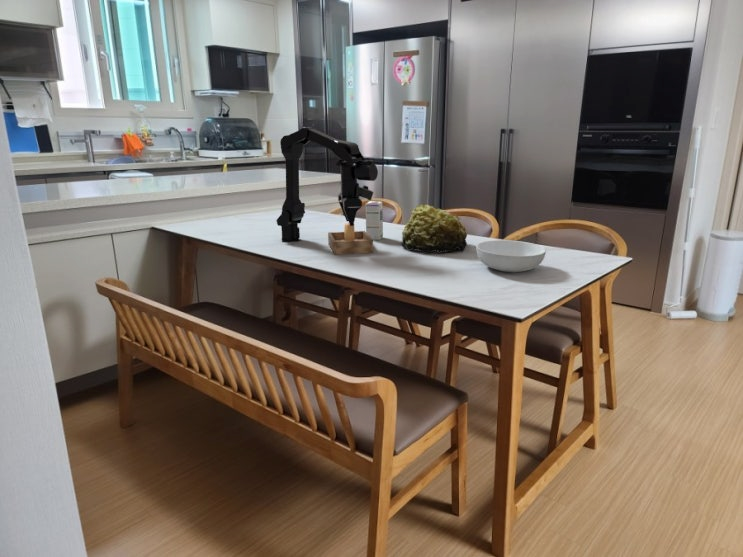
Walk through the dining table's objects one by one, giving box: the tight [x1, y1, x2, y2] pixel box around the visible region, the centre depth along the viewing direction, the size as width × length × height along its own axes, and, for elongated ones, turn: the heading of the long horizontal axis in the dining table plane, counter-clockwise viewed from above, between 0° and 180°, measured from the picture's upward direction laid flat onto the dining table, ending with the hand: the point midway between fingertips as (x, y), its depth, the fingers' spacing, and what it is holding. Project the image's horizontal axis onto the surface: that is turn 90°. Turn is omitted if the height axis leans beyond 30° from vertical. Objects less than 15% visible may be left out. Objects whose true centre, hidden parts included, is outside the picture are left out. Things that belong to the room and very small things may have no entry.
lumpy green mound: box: [400, 204, 468, 254], centre depth 187 cm, size 25×24×16 cm
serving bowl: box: [475, 239, 547, 273], centre depth 159 cm, size 21×21×7 cm
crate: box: [327, 230, 374, 255], centre depth 187 cm, size 14×17×4 cm
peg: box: [343, 222, 355, 241], centre depth 186 cm, size 4×4×9 cm
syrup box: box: [365, 200, 384, 241], centre depth 201 cm, size 6×6×14 cm
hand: (349, 223), depth 185 cm, fingers open, 9 cm apart
